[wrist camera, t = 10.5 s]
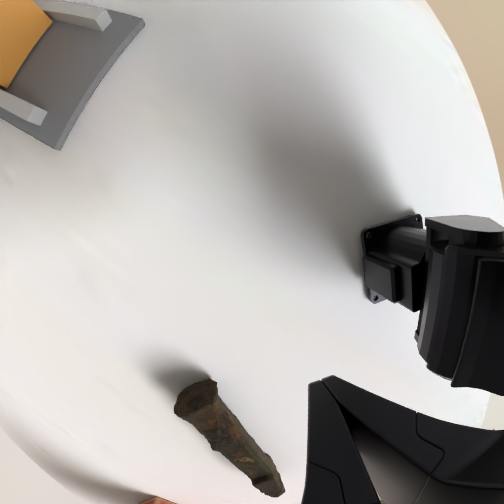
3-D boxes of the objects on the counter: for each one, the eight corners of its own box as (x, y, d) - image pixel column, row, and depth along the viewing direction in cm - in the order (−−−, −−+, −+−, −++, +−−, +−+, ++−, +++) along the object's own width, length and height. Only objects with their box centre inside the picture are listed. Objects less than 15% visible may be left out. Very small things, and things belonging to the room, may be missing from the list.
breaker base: (145, 25, 15) (132, -12, 10) (60, 150, 16) (22, 140, 11) (36, 3, 12) (16, -20, 7) (-28, 100, 13) (-58, 91, 8)
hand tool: (173, 386, 22) (168, 422, 17) (214, 372, 22) (216, 408, 18) (255, 479, 26) (261, 507, 22) (284, 470, 27) (293, 497, 22)
